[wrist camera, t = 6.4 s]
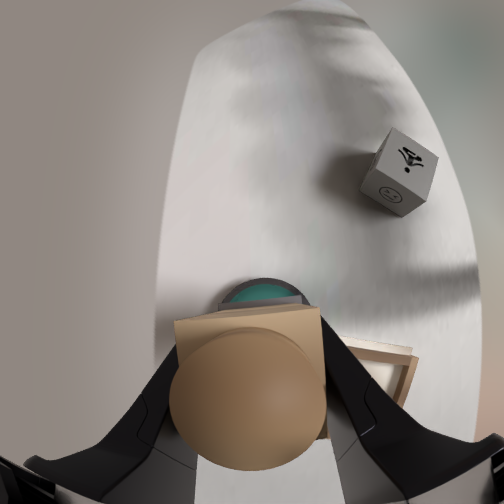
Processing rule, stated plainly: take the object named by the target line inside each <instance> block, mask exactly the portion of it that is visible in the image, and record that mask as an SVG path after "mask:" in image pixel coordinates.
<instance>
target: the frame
mask: <svg viewBox="0 0 504 504" xmlns="http://www.w3.org/2000/svg"><path fill="white" fill-rule="evenodd" d="M338 336H339V335H338ZM339 337H340V339H341V340H342V341H343V342H344V343H345V345H346V346H347V347H348V348H349V349H350V351H351V352H352V353H353V354H354V355H355V357H356V358H357V359H358V360H359V361H360V363H361V364H362V365H363V366H364V367H365V369H366V370H367V371H368V372H369V373H370V375H371V378H372V377H373V378H374V379H375V381H376V382H377V383H378V384H379V385H380V386H381V388H382V389H383V390H384V391H385V392H386V393H387V394H388V395H389V396H390V397H391V398H392V399H393V400H394V401H395V402H396V403H397V404H398V405H399V406H400V407H401V408H403V405H404V403H405V400H406V397H407V394H408V392H409V389H410V386H411V383H412V380H413V377H414V373H415V370H416V367H417V363H418V360H419V358H418V357H415V356H412V355H411V352H412V348H411V347H404V346H397V345H391V344H384V343H378V342H372V341H366V340H361V339H355V338H350V337H344V336H339ZM327 431H328V438H325V439H330V440H331V438H330V434H329V430H328V426H327Z"/></svg>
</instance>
